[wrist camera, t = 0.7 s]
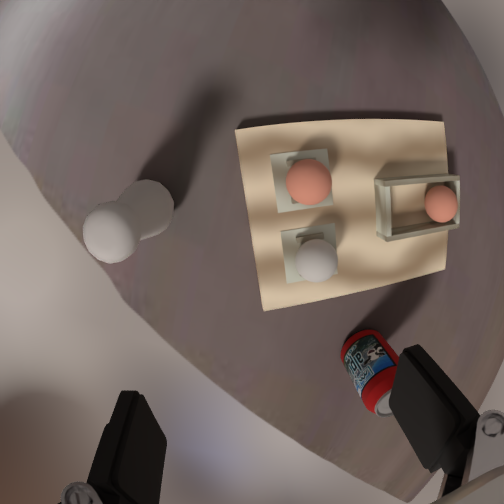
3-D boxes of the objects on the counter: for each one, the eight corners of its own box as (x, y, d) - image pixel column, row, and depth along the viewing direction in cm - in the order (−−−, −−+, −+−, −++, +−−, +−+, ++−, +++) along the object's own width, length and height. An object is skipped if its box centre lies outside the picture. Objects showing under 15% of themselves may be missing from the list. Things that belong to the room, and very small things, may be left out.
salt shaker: (157, 167, 28) (111, 174, 16) (188, 209, 30) (163, 246, 18) (117, 199, 29) (56, 228, 17) (147, 240, 31) (103, 291, 19)
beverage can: (352, 322, 37) (392, 379, 25) (388, 330, 38) (429, 382, 26) (330, 360, 38) (359, 421, 27) (365, 366, 40) (398, 420, 28)
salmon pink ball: (279, 161, 28) (288, 162, 24) (320, 156, 28) (336, 157, 24) (284, 204, 29) (294, 212, 25) (325, 198, 29) (341, 205, 25)
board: (234, 131, 28) (235, 127, 24) (436, 122, 29) (456, 121, 25) (262, 304, 34) (266, 322, 31) (438, 265, 35) (455, 275, 31)
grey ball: (288, 237, 30) (298, 251, 26) (328, 231, 31) (343, 243, 26) (293, 276, 32) (302, 293, 28) (330, 268, 32) (344, 285, 28)
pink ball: (417, 184, 30) (439, 189, 26) (442, 182, 30) (464, 187, 26) (417, 219, 31) (439, 228, 27) (442, 215, 31) (464, 224, 27)
